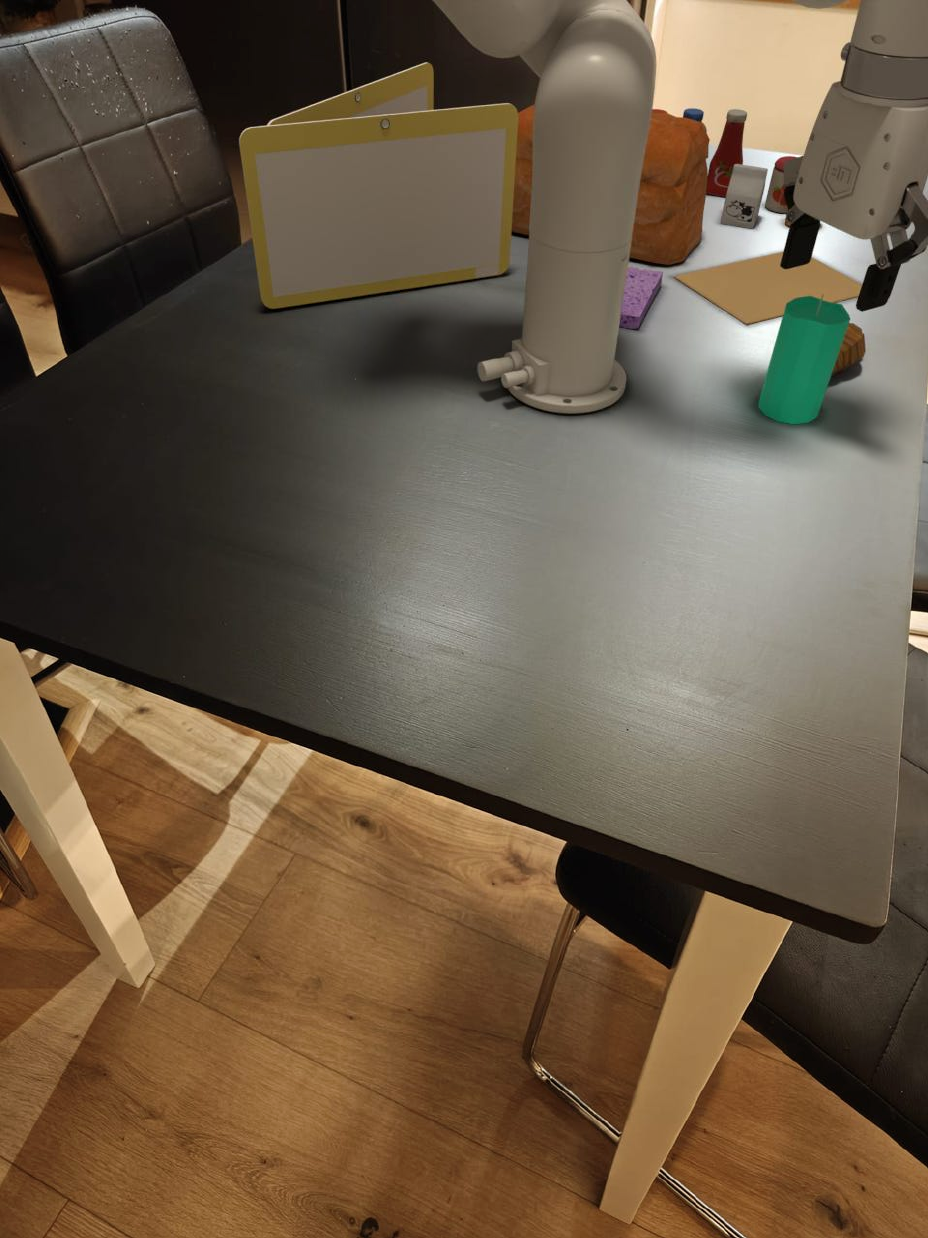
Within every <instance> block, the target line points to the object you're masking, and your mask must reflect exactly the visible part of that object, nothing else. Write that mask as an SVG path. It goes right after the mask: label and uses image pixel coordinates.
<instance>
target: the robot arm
mask: <svg viewBox="0 0 928 1238" xmlns="http://www.w3.org/2000/svg"><path fill="white" fill-rule="evenodd" d="M791 1H792V2H793V3H795V4H797V5H799V6H803V7H805V8H809V9H815V10H816V9H817V10H822V9H830V8H833V7H837V6H840V5H842V4H844V3H847V2H848V1H849V0H791ZM432 2H433V3H434V5H436V6H437V7H438V9H439V10H440V11H441V12H442V13H443V14H444V16H445V17H447V19H448V20H449V21H450V22H451V23H452V25H453V26H454V27H455V28H456V29H457V31H458V32H459V33H460V34H461V35H462V36H463V37H464V38H465V40H467V42H468V43H469V44H470V45H471V46H472V47H473V48H475V49H477V50H478V51H479V52H481V53H483V54H485V55H487V56H490V57H493V58H497V59H509V58H515V57H517V56H519V57H520V59H522V60H523V62H525V63H526V65H527V66H528V67H529V68H530V69H531V70H532V71H533V73H535V74H536V76H537V77H538V78H539V81H538V85H537V89H536V94H535V99H534V103H535V106H534V116H533V167H532V191H531V207H530V223H529V232H530V233H529V235H528V248H527V249H528V250H527V263H526V277H525V290H524V291H525V293H524V305H523V318H522V333H521V334H522V335H521V338H519V339H513V340H512V345H511V351H508V352H506V353H505V354H504V356H503V357H499V358H491V359H488V360H483V361H479V362H478V364H477V374H478V377H479V379H480V381H482V382H487V381H492V380H496V379H500V381H501V385H502V386H503V388H505V389H507V390H508V391H509V393H510V394H511V395H512V396H514V397H515V398H516V399H517V400H519V401H520V402H522V403H524V404H525V405H527V406H530V407H533V408H534V409H538V410H542V411H546V412H549V413H550V412H551V413H557V414H567V415H568V414H570V415H571V414H585V413H591V412H595V411H599V410H603V409H605V408H607V407H610V406H612V405H613V404H614V403H616V402H617V401H619V400H620V399H621V397H622V396H623V395H624V393H625V390H626V385H627V374H626V373H627V372H625V370H624V368H623V366H622V365H621V364H620V362H619V361H617V360H616V359H615V356H616V350H617V343H618V337H619V330H620V326H619V324H620V317H621V310H622V303H623V296H624V290H625V283H626V276H627V269H628V268H629V263H630V257H629V256H630V249H631V242H632V233H633V226H634V220H635V213H636V206H637V199H638V193H639V186H640V179H641V173H642V167H643V161H644V154H645V149H646V144H647V139H648V133H649V128H650V122H651V115H652V109H654V108H653V107H654V98H655V92H656V91H655V90H656V78H657V52H656V46H655V43H654V40H653V37H652V35H651V33H650V30H649V29H648V27H647V25H646V23H645V22H644V20H643V19H642V18H641V16H640V15H639V14H638V13H637V12H636V10H635V9H634V8H633V6H632V5H631V3H629V1H628V0H432ZM850 37H851V38H850V41H848V42H847V43H845V44H844V45H843V47H842V48H841V51H840V59H841V61H843V62H844V64H843V69H842V73H841V77H840V80H838V81H835V82H833V83H832V84H831V86H830V88H829V89H828V91H827V94H826V95H825V97H824V100H823V101H822V104H821V107H820V109H819V111H818V113H817V116H816V118H815V121H814V124H813V127H812V129H811V132H810V135H809V137H808V141H807V144H806V147H805V150H804V153H803V155H801V156H796V157H797V158H794V159H791V160H788V161H785V163H784V165H783V173H784V184H785V185H786V188H785V189H784V198H785V201H786V204H787V208H788V212H787V213H785V218H786V220H787V222H788V223H790V224H791V225H790V227H789V226H788V227H789V228H788V232H787V234H786V240H785V243H784V247H783V251H784V252H783V251H782V252H783V256H782V260H781V264H780V267H782V268H783V269H785V270H786V269H790V268H794V267H798V266H802V265H806V264H808V263H809V262H810V261H811V257H812V258H813V253H814V249H815V245H816V242H817V239H818V234H819V230H820V228H821V227H820V226H821V222H822V223H824V224H826V225H828V226H830V227H832V228H834V229H837V230H839V231H840V232H843V233H845V234H847V235H849V236H851V237H854V238H855V239H856V238H857V239H859V240H866V241H867V240H870V242H871V244H870V245H871V248H872V253H873V257H874V260H875V263H872V264H869V265H868V266H867V269H866V271H865V275H864V277H863V281H862V283H861V284H862V287H861V290H860V293H859V296H858V297H857V299H856V303H855V309H856V310H858V311H860V312H866V311H870V310H873V309H877V308H880V307H884V306H885V305H886V304H887V303H888V302H889V299H890V298H891V296H892V293H893V290H894V287H895V284H896V281H897V278H898V275H899V273H900V269H901V267H902V265H903V264H907V263H909V262H910V261H911V260H912V259H914V258H916V257H917V256H919V255H920V254H923V253H924V252H926V250H927V248H928V198H927V197H926V196H925V195H924V191H925V187H926V185H927V180H928V0H860V2H859V5H858V10H857V13H856V18H855V22H854V25H853V29H852V32H851V36H850ZM815 218H816V219H815ZM911 224H913V226H914V231H913V232H912V234H911V235H910V237H909V238H908V232H907V230H908V229H909V228H910V226H911ZM888 237H889V238H890V242H891V246H892V248H890V244H889V243H890V242H889V239H888Z"/></svg>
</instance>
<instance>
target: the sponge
mask: <svg viewBox="0 0 928 1238" xmlns="http://www.w3.org/2000/svg"><path fill="white" fill-rule="evenodd" d="M663 274H664V271H660V270H652V269H646V268H644V269H640V268H639V267H632V266H628V269H627V276H626V283H625V290H624V296H623V303H622V310H621V317H620V324H619V327H621V328H623V329H631V330H637V329H639V328H640V325H641V323H642V322H643V320H644V319H645V315H646V314H647V312H648V310H649V308H650V306H651V304H652V303H653V301H654V298H655V297H656V295H657V294H658V291H659V289H660V288H661V286H662V282H663Z"/></svg>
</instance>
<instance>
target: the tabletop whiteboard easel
mask: <svg viewBox="0 0 928 1238" xmlns="http://www.w3.org/2000/svg"><path fill="white" fill-rule="evenodd" d="M434 72H435V71H434V67H433V65H432V63H430V62H428V61H427V62H423V63H420V64H416V65H415V66H412V67H409V68H407V69H404V70H402V71H399V72H396V73H393V74H391V75H388V76H385V77H383V78H379V79H378V80H375V81H372V82H369V83H367V84H363V85H361V86H359V87H356V88H353V89H350V90H348V91H345V92H343V93H340V94H338V95H335V96H332V97H329V98H327V99H323V100H320V101H318V102H316V103H314V104H310V105H308V106H305V107H302V108H300V109H296V110H294V111H291V112H289V113H286V114H284V115H281V116H279V117H276V118H273V119H271V120H269V121H268V122H267V124H266V125H259V126H249V127H247V128H245V129H244V130H242V132H241V133H240V136H239V139H238V145H239V153H240V159H241V166H242V174H243V180H244V187H245V188H244V189H245V194H246V202H247V203H246V204H247V210H248V216H249V223H250V224H249V225H250V231H251V237H252V245H253V252H254V260H255V265H256V266H255V267H256V273H257V280H258V281H257V282H258V288H259V294H260V295H259V296H260V300H261V302H262V304H263V305H264V306H265V307H266V308H268V309H271V310H276V309H282V308H283V309H284V308H288V307H289V308H290V307H296V306H302V305H309V304H316V303H322V302H329V301H336V300H343V299H349V298H355V297H363V296H368V295H376V294H381V293H387V292H395V291H400V290H409V289H416V288H422V287H427V286H435V285H443V284H448V283H455V282H462V281H468V280H474V279H480V278H487V277H488V278H489V277H495V276H500V275H502V274H504V273H505V272H506V271H507V270H508V269H509V266H510V260H511V244H512V231H511V230H512V213H513V197H514V181H515V164H516V148H517V131H518V113H519V112H518V109H517V107H516V106H515V105H513V104H512V103H509V102H505V103H493V104H485V105H483V104H482V105H473V106H472V105H471V106H461V107H452V108H451V107H450V108H443V109H442V108H441V109H440V108H439V109H434V107H435V106H434V104H435V103H434V102H435V101H434V100H435V97H434V95H435V94H434V93H435V91H434V89H435V87H434V85H435V82H434V81H435V79H434V78H435V74H434Z"/></svg>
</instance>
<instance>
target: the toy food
mask: <svg viewBox="0 0 928 1238" xmlns="http://www.w3.org/2000/svg"><path fill="white" fill-rule="evenodd" d="M747 112H748V111H745V110H743V109H738V108H734V109H733V108H731V109H729V110H728V111H727V114H726V116H725V117H726V120H725V124H724V127H723V131H722V134H721V137H720V141H719V142H718V145H717V148H716V149H715V153H714V154H713V156H712V158H711V160H710V162H709V164H708V165H709V166H708V178H707V188H706V195H711V196H718V197H724V202H723V208H722V213H721V218H720V224H722V225H727V226H734V227H739V228H747V229H753V228H754V226H755V224H756V222H757V219H758V217H759V212H760V209H761V206H762V205H761V204H762V200H763V196H764V191H765V187H766V180H767V175H768V171H769V169H768V168H766V167H761V166H755V165H747V164H744V154H743V153H744V152H743V151H744V150H743V141H744V133H745V132H744V131H745V125H746V124H745V123H746V121H747V118H748V113H747ZM652 113H668V111H667V110H664V109H660V108H659V109H658V108H652ZM704 114H705V112H704V110H702V109H699V108H693V107H692V108H691V107H690V108H686V109H684V111H683V114H682V118H689V119H692V120H695V121H698V122H702V124H703V126H704V128H705V131H706V133H707V134H708V130H707V126H706V125H705V123H704V122H703V119H704ZM797 157H798V156H793V155H785V156H781V157H779V158H777V159H776V160H775V162H774V167H773V168H772V173H771V176H770V180H769V185H768V189H767V193H766V198H765V202H764V205H765V208H766V209H768V210H769V211H772V212H775V213H783V214H787V212H788V208H787V204H786V201H785V198H784V189H785V188H786V185H785V184H784V173H783V165H784V163H785V161H788V160H791V159H794V158H797ZM815 219H816V218H815ZM784 223H785V225H786V226H787V227H790V225H791V224H790V223H788V222H787V220H786V217H785V219H784Z"/></svg>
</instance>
